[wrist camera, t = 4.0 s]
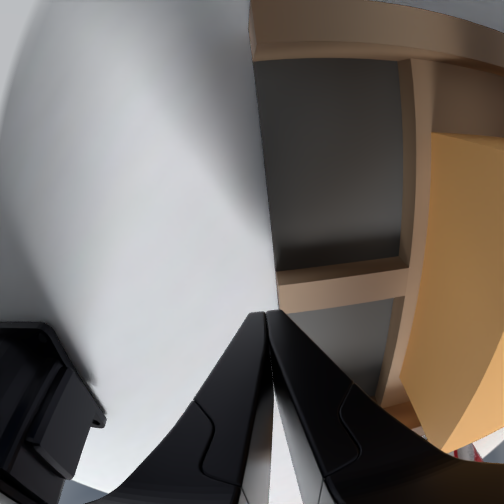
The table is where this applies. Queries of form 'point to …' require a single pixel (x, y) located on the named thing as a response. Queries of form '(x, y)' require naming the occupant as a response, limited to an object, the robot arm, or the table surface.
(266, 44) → the trap box
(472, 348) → the block
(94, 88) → the table surface
